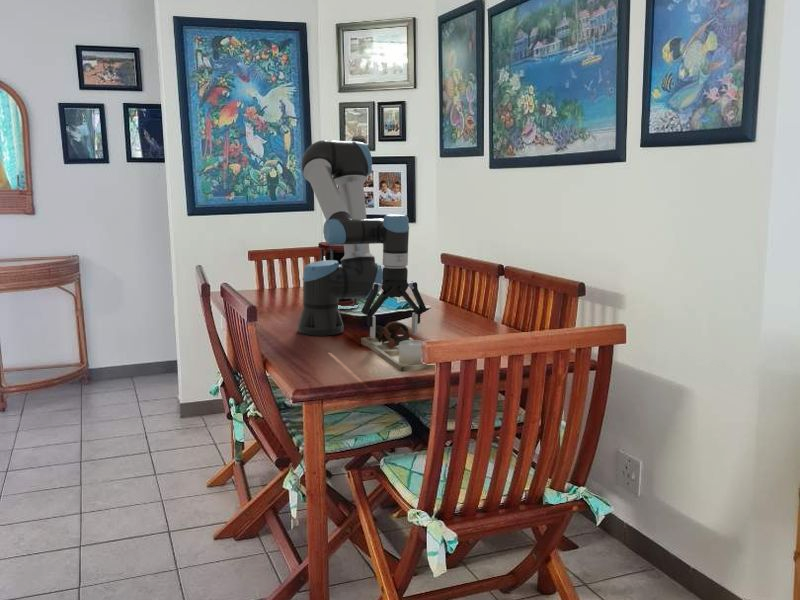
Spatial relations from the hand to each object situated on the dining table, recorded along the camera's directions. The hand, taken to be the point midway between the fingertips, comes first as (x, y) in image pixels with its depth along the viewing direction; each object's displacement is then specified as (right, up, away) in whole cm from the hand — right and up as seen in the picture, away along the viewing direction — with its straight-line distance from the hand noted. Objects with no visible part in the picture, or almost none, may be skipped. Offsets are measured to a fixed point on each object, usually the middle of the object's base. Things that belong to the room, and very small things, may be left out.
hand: (393, 335), depth 223 cm
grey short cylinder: (+6, -6, -15) cm, 17 cm away
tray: (+3, -6, -7) cm, 9 cm away
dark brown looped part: (-1, -3, +2) cm, 4 cm away
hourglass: (-22, +8, +65) cm, 70 cm away
